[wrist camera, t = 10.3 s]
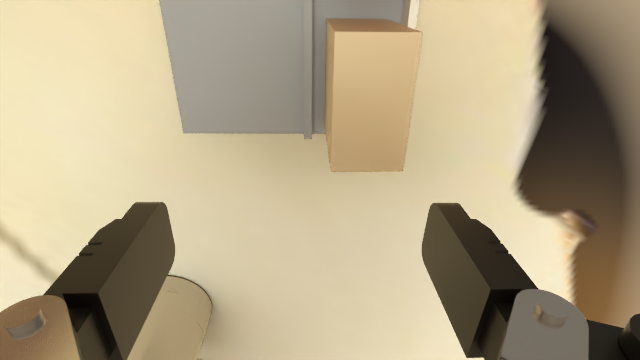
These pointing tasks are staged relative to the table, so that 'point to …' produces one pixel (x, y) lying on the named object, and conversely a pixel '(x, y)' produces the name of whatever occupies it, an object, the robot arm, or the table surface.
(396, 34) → the kraft carton
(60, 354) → the robot arm
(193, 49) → the shelf board
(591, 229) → the table surface
